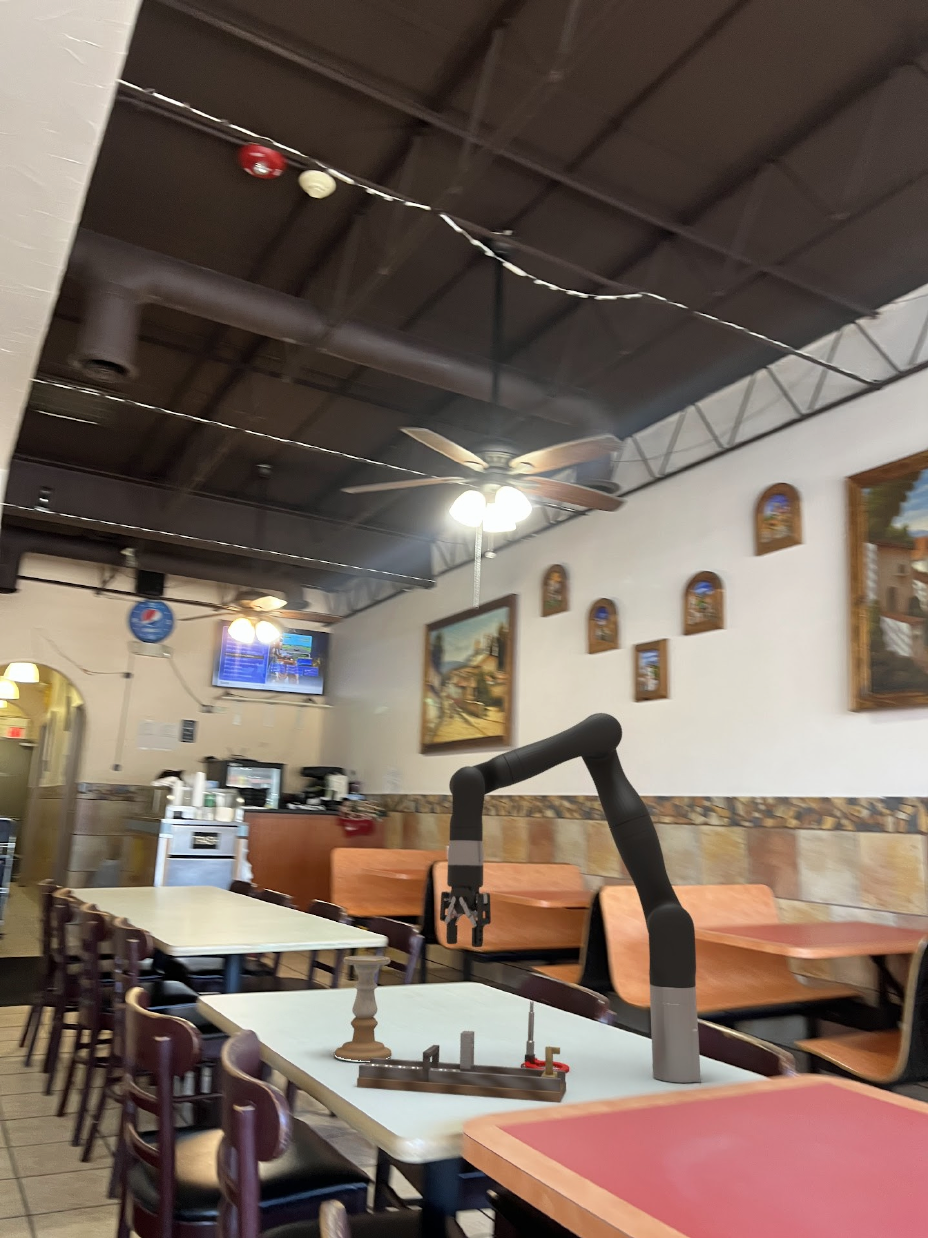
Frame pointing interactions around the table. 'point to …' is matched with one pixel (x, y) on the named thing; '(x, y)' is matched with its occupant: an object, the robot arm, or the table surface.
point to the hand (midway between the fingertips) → (464, 945)
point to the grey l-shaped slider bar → (465, 1054)
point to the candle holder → (364, 1012)
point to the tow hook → (530, 1056)
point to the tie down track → (466, 1078)
